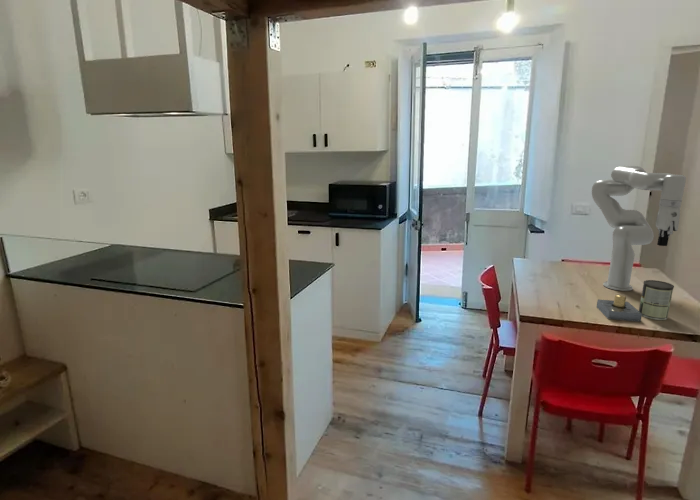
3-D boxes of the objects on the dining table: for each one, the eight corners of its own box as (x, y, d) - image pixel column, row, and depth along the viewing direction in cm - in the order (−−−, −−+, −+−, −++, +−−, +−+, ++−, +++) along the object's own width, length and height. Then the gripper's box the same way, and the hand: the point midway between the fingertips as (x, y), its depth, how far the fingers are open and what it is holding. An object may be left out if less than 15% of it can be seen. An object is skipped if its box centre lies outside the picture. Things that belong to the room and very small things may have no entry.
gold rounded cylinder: (620, 312, 182) (623, 294, 180) (624, 316, 178) (628, 297, 176) (610, 311, 182) (613, 294, 181) (614, 315, 179) (617, 297, 177)
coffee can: (632, 310, 184) (637, 279, 180) (655, 310, 184) (661, 279, 181) (649, 320, 174) (655, 287, 170) (673, 320, 174) (680, 287, 171)
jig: (596, 306, 188) (597, 299, 187) (626, 309, 185) (627, 301, 185) (608, 318, 175) (609, 310, 174) (640, 321, 172) (642, 313, 171)
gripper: (689, 206, 174) (680, 249, 179) (671, 202, 189) (663, 242, 193) (668, 205, 176) (660, 248, 180) (652, 201, 190) (644, 241, 195)
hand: (662, 245), depth 187 cm, fingers closed
